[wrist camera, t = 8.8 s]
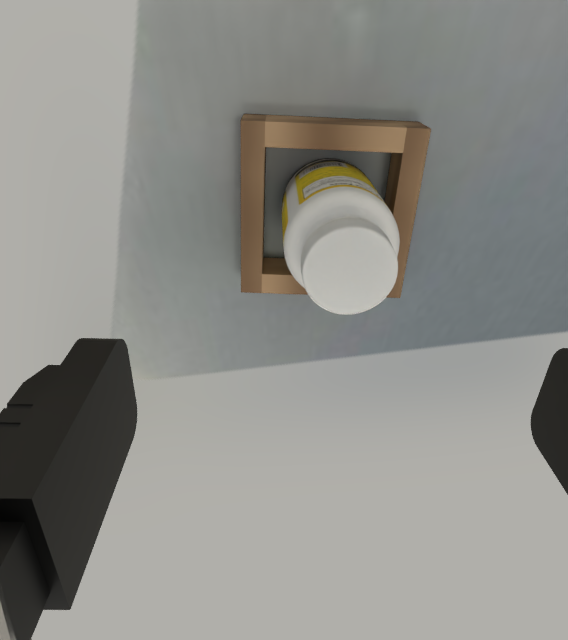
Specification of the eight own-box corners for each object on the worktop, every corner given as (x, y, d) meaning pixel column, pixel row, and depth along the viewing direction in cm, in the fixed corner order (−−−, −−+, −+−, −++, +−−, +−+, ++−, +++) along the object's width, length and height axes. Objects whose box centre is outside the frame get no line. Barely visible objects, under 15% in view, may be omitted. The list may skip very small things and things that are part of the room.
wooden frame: (418, 121, 26) (431, 128, 24) (391, 279, 31) (400, 297, 28) (244, 113, 26) (240, 120, 24) (243, 274, 30) (241, 292, 28)
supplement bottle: (335, 263, 30) (356, 350, 22) (263, 214, 28) (256, 287, 20) (393, 193, 28) (443, 259, 19) (320, 136, 26) (339, 180, 18)
